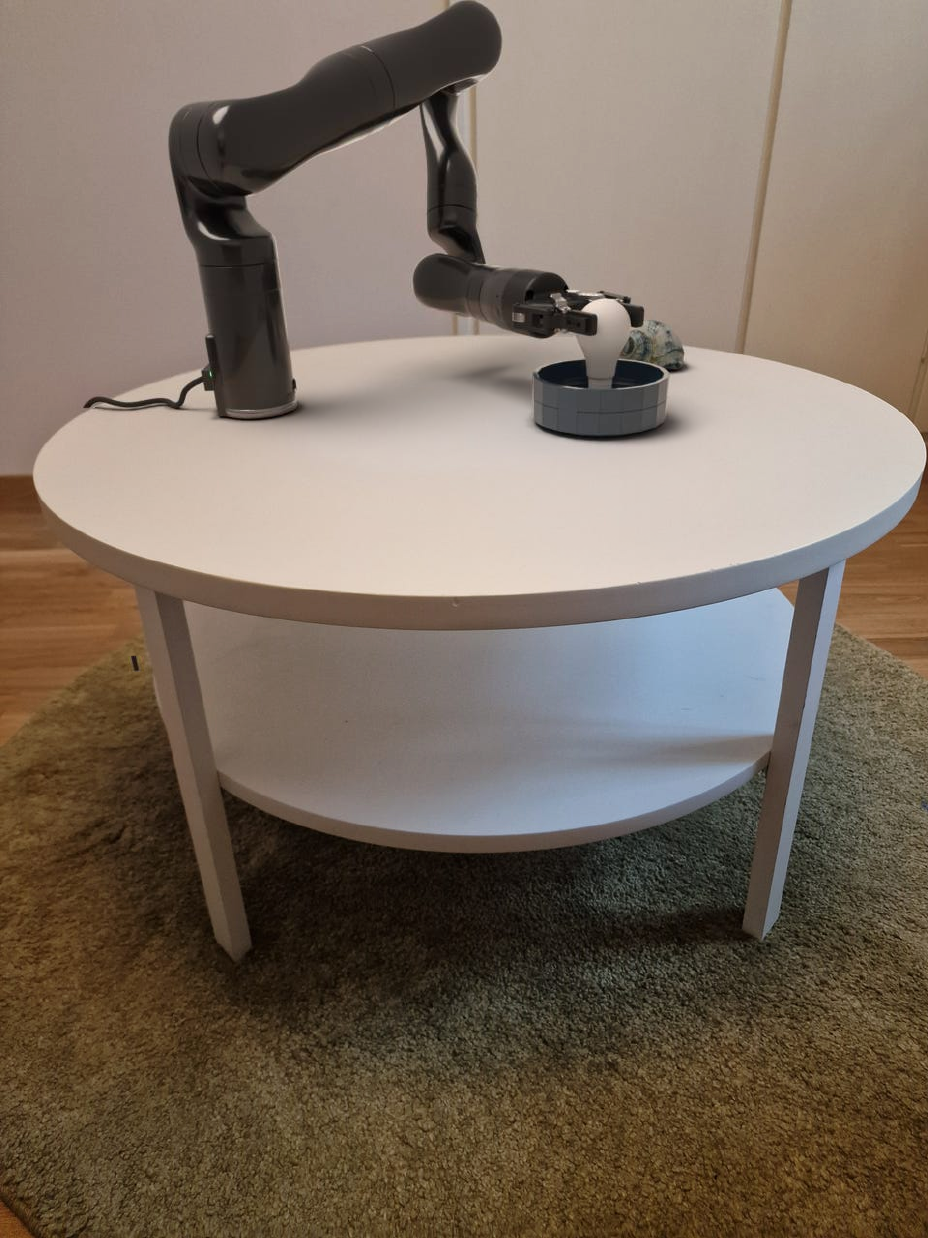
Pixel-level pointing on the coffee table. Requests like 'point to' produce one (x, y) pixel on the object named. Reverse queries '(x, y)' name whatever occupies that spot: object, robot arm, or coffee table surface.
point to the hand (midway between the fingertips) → (618, 321)
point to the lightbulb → (604, 341)
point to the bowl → (599, 398)
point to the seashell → (654, 345)
